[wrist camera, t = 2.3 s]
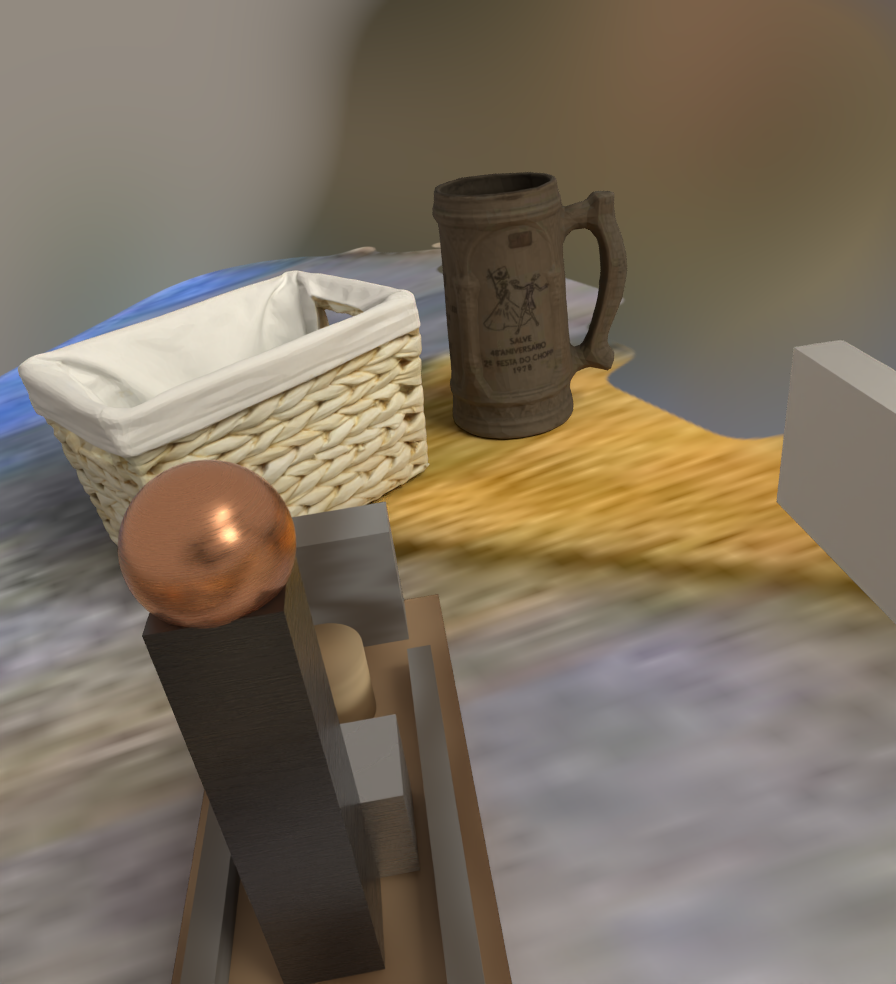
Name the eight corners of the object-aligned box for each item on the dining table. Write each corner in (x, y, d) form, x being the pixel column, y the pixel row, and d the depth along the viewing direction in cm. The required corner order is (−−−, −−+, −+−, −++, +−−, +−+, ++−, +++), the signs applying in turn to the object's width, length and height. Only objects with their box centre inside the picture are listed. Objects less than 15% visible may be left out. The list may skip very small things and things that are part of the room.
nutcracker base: (442, 620, 47) (421, 490, 43) (527, 1072, 27) (505, 914, 22) (240, 655, 47) (198, 528, 42) (166, 1146, 26) (68, 999, 21)
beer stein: (459, 451, 66) (446, 196, 56) (434, 402, 75) (419, 175, 65) (635, 427, 68) (653, 178, 58) (590, 382, 77) (599, 160, 67)
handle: (411, 787, 34) (322, 366, 25) (430, 973, 27) (318, 492, 18) (258, 815, 34) (107, 400, 24) (239, 1011, 27) (17, 542, 17)
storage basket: (180, 628, 50) (101, 415, 42) (80, 542, 61) (3, 359, 53) (452, 471, 63) (427, 288, 56) (330, 423, 74) (296, 264, 67)
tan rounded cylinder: (374, 677, 41) (361, 617, 39) (378, 736, 37) (364, 673, 35) (297, 691, 41) (279, 631, 39) (294, 751, 37) (274, 689, 35)
